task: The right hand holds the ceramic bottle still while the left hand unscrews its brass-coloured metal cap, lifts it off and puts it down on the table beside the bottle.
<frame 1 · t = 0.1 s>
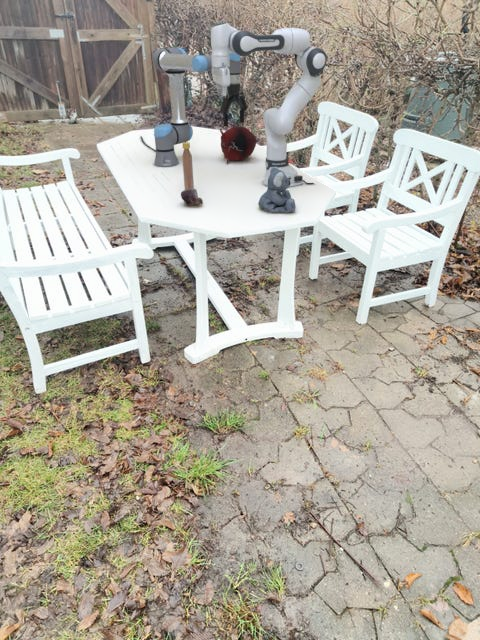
left hand: (234, 124, 259), 28 cm above the table, tool pointing down, fingers open, 13 cm apart
right hand: (221, 94, 225), 48 cm above the table, tool pointing down, fingers open, 8 cm apart
bottle: (189, 192, 247), on the table
cap: (186, 143, 232), point 26 cm above the table, screwed on, not yet turned
rock: (191, 204, 231), on the table
decorative skull: (237, 159, 303), on the table
koala plush: (275, 208, 226), on the table
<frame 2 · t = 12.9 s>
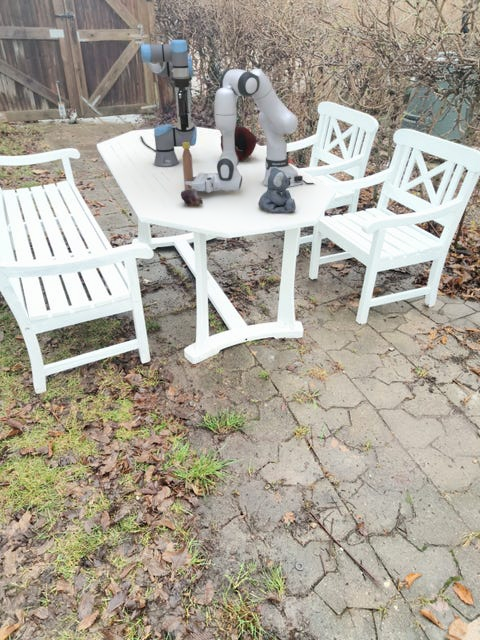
left hand: (185, 128, 228), 33 cm above the table, tool pointing down, fingers open, 6 cm apart
right hand: (187, 180, 244), 7 cm above the table, tool horizontal, fingers closed on bottle, 5 cm apart
bottle: (189, 192, 247), on the table, touching right hand
everything else where it was.
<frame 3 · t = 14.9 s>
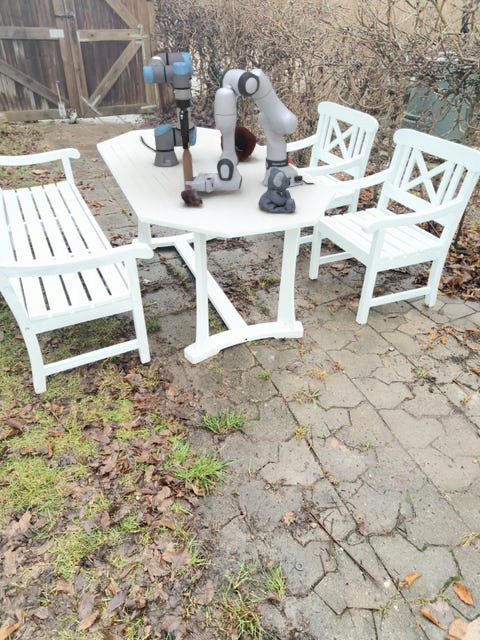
left hand: (186, 147, 234), 24 cm above the table, tool pointing down, fingers closed on cap, 4 cm apart
right hand: (187, 180, 244), 7 cm above the table, tool horizontal, fingers closed on bottle, 5 cm apart
bottle: (189, 192, 247), on the table, touching right hand
cap: (186, 143, 232), point 26 cm above the table, screwed on, not yet turned, touching left hand
everything else where it was.
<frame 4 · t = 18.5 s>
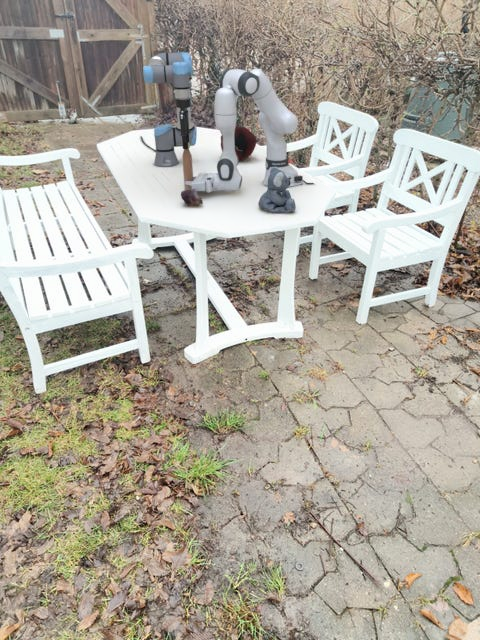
left hand: (186, 147, 234), 24 cm above the table, tool pointing down, fingers closed on cap, 4 cm apart
right hand: (187, 180, 244), 7 cm above the table, tool horizontal, fingers closed on bottle, 5 cm apart
bottle: (189, 192, 247), on the table, touching right hand
cap: (186, 143, 232), point 26 cm above the table, turned 113° so far, risen 0.1 cm, still on its thread, touching left hand
everything else where it was.
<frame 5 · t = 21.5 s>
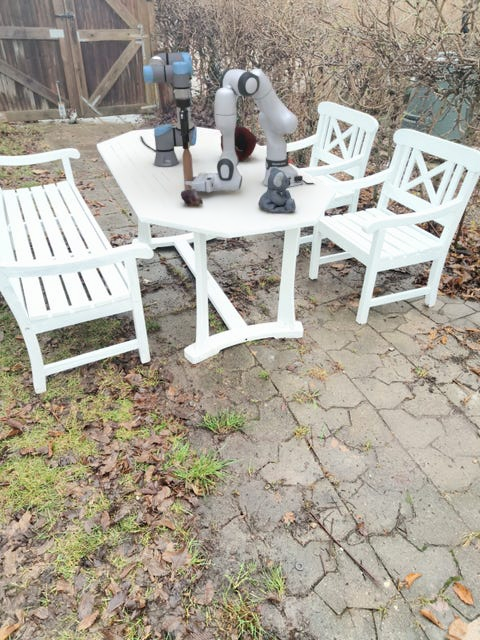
left hand: (186, 147, 234), 24 cm above the table, tool pointing down, fingers closed on cap, 4 cm apart
right hand: (187, 180, 244), 7 cm above the table, tool horizontal, fingers closed on bottle, 5 cm apart
bottle: (189, 192, 247), on the table, touching right hand
cap: (186, 143, 232), point 26 cm above the table, turned 226° so far, risen 0.2 cm, still on its thread, touching left hand
everything else where it was.
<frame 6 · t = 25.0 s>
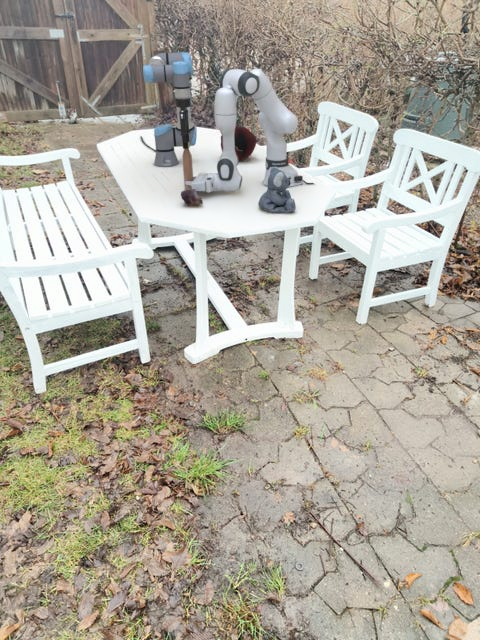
left hand: (186, 147, 234), 24 cm above the table, tool pointing down, fingers closed on cap, 4 cm apart
right hand: (187, 180, 244), 7 cm above the table, tool horizontal, fingers closed on bottle, 5 cm apart
bottle: (189, 192, 247), on the table, touching right hand
cap: (186, 142, 232), point 26 cm above the table, turned 339° so far, risen 0.3 cm, still on its thread, touching left hand
everything else where it was.
when the left hand's fingers open (1 cm above the table, at t = 33.1 s): cap drops 1 cm, point 2 cm above the table.
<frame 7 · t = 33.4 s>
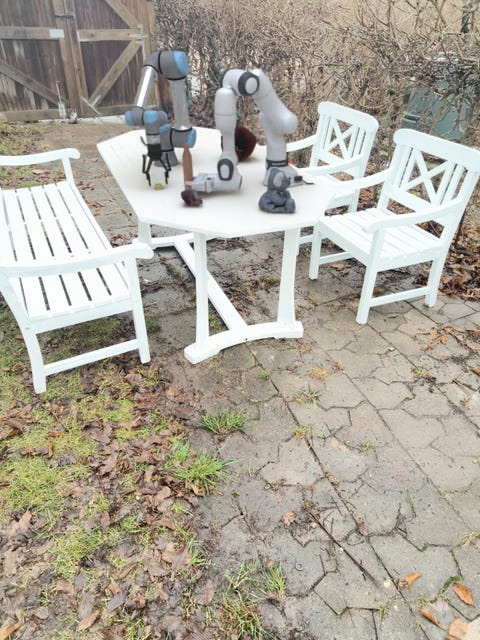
left hand: (158, 184, 252), 2 cm above the table, tool pointing down, fingers open, 9 cm apart
right hand: (187, 180, 244), 7 cm above the table, tool horizontal, fingers closed on bottle, 5 cm apart
bottle: (189, 192, 247), on the table, touching right hand
cap: (158, 184, 252), point 2 cm above the table, off its thread
everything else where it was.
when the right hand's fingers open (7 cm above the table, at t = 34.4 s): bottle stays where it is, on the table.
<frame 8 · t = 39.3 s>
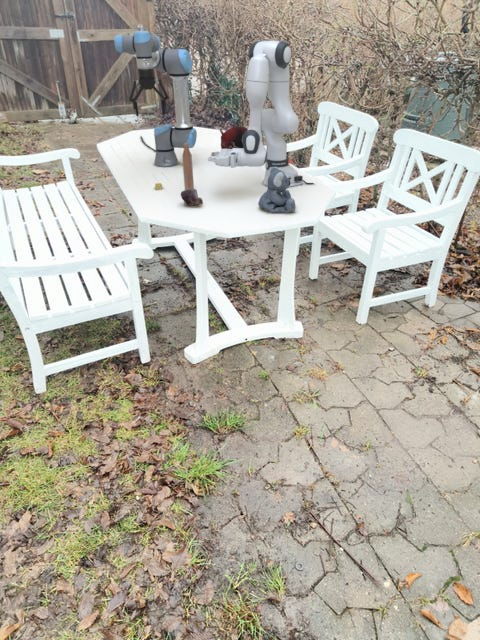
left hand: (150, 115, 232), 38 cm above the table, tool pointing down, fingers open, 13 cm apart
right hand: (209, 156, 235), 20 cm above the table, tool horizontal, fingers open, 8 cm apart
bottle: (189, 192, 247), on the table
everything else where it was.
at the end: cap came off its thread; cap point 2.1 cm above the table; the left hand is holding nothing; the right hand is holding nothing; bottle tilted 0°; bottle moved 0.0 cm from its start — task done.
